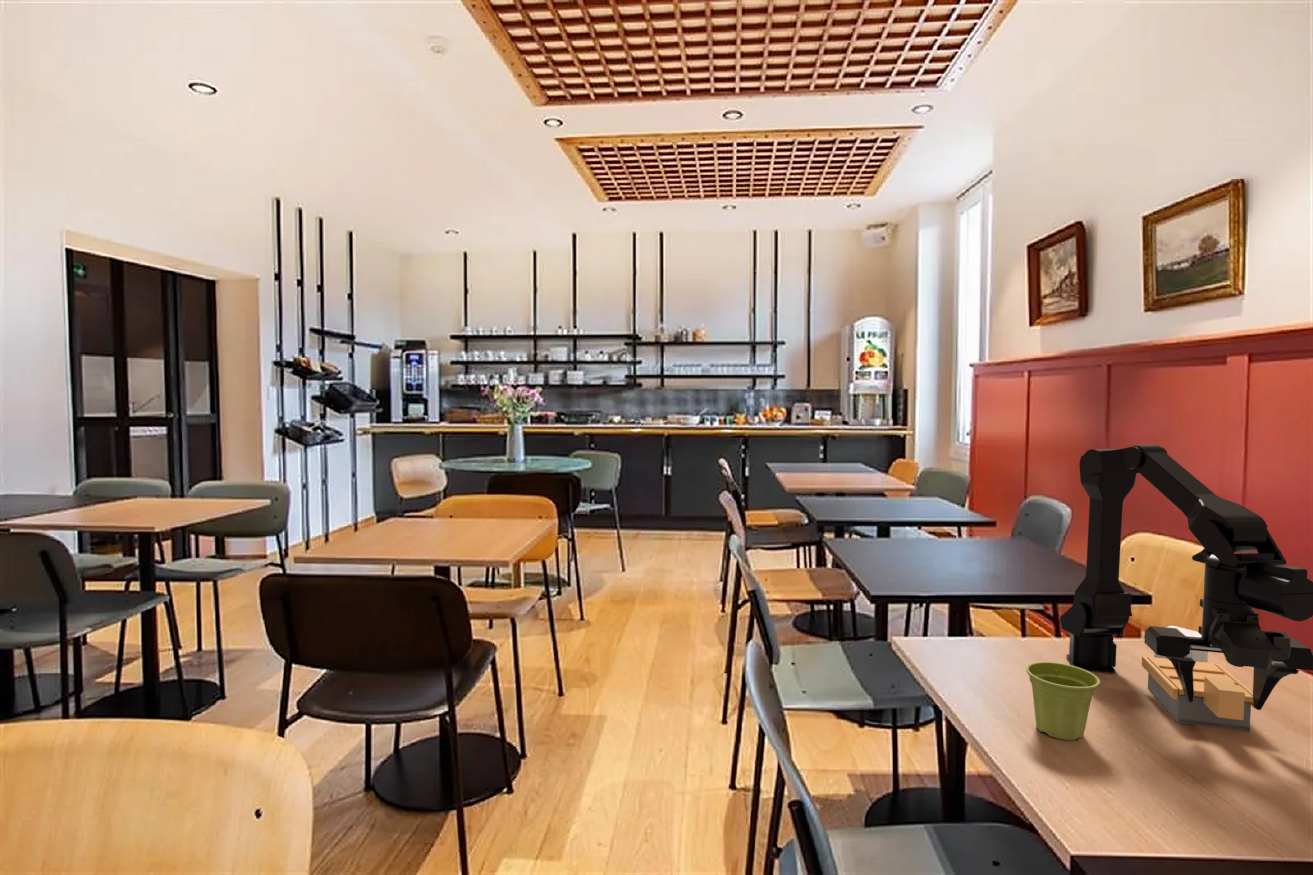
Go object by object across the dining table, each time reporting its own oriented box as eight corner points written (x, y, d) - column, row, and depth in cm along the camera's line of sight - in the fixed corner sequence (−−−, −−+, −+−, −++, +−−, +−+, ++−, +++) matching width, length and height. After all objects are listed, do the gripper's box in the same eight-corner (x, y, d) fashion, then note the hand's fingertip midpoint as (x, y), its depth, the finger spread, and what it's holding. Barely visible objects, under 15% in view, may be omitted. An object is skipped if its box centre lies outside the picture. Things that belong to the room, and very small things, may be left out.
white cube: (1154, 662, 132) (1155, 630, 131) (1170, 656, 135) (1171, 625, 134) (1191, 673, 127) (1193, 640, 126) (1207, 666, 130) (1208, 634, 129)
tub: (1177, 722, 108) (1178, 695, 107) (1147, 688, 120) (1148, 664, 120) (1249, 731, 105) (1251, 703, 105) (1211, 695, 117) (1212, 670, 117)
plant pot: (1088, 722, 108) (1090, 666, 107) (1105, 751, 99) (1107, 690, 98) (1019, 713, 111) (1021, 658, 110) (1029, 741, 102) (1031, 681, 101)
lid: (1185, 713, 103) (1187, 686, 102) (1141, 666, 120) (1142, 642, 120) (1277, 724, 99) (1278, 696, 99) (1217, 673, 117) (1219, 649, 117)
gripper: (1173, 609, 97) (1168, 720, 98) (1343, 622, 92) (1336, 740, 93) (1145, 588, 108) (1141, 688, 109) (1296, 598, 102) (1290, 704, 103)
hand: (1223, 705), depth 103 cm, fingers open, 8 cm apart
